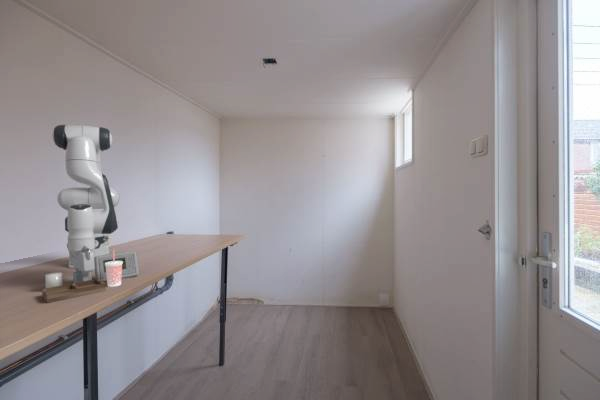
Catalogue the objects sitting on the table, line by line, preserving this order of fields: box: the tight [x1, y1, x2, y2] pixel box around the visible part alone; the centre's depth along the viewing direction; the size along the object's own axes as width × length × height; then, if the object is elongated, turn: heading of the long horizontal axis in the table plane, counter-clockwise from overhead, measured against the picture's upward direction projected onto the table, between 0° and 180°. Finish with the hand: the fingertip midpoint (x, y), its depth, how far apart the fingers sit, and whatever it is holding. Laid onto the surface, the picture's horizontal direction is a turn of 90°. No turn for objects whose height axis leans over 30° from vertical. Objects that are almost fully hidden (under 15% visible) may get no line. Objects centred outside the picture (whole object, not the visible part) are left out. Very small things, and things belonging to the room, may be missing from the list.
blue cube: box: [72, 271, 93, 283], centre depth 123 cm, size 5×5×5 cm
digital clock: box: [94, 250, 140, 283], centre depth 130 cm, size 16×9×11 cm, turn 123°
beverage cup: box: [105, 249, 123, 288], centre depth 121 cm, size 6×6×14 cm
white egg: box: [44, 271, 64, 289], centre depth 116 cm, size 5×5×6 cm
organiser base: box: [41, 278, 107, 304], centre depth 111 cm, size 9×17×3 cm, turn 138°
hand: (82, 279), depth 123 cm, fingers open, 6 cm apart
